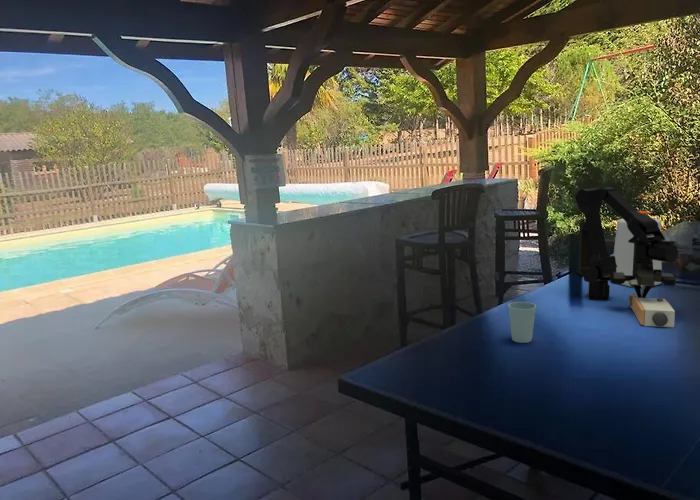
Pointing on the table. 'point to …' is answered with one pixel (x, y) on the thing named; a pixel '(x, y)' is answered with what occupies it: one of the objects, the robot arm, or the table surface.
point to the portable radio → (584, 249)
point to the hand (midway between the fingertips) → (640, 304)
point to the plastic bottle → (628, 250)
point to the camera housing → (657, 312)
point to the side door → (636, 308)
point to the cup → (522, 321)
